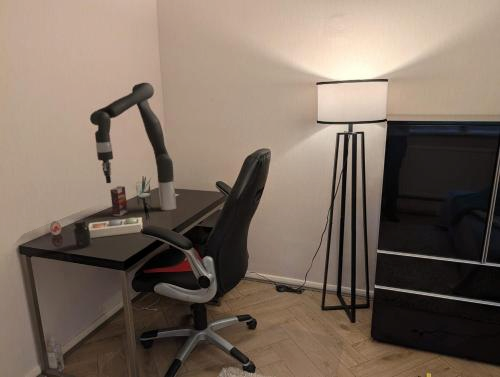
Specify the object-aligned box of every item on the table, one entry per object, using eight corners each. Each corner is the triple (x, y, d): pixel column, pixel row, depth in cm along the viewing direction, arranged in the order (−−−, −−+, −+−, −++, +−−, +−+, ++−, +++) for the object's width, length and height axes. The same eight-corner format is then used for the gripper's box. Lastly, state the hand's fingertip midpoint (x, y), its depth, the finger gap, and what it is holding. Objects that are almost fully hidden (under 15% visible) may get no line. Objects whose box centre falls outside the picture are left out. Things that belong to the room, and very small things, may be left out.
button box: (142, 224, 192) (141, 217, 191) (141, 231, 180) (141, 224, 179) (90, 230, 185) (89, 223, 184) (86, 238, 174) (85, 230, 173)
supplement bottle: (78, 243, 168) (75, 219, 166) (93, 242, 169) (90, 218, 166) (73, 248, 162) (69, 224, 159) (88, 247, 162) (84, 223, 159)
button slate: (121, 223, 185) (120, 218, 185) (120, 227, 180) (119, 222, 179) (110, 224, 184) (109, 220, 183) (108, 228, 179) (108, 223, 178)
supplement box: (120, 216, 207) (117, 189, 203) (113, 215, 208) (109, 189, 204) (128, 211, 215) (125, 186, 212) (121, 211, 216) (117, 186, 213)
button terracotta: (105, 228, 184) (104, 223, 183) (104, 231, 178) (103, 227, 178) (94, 229, 182) (93, 224, 182) (92, 233, 177) (91, 228, 176)
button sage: (137, 221, 187) (136, 217, 187) (137, 225, 182) (136, 220, 181) (126, 223, 186) (125, 218, 185) (125, 226, 181) (124, 221, 180)
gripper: (110, 151, 179) (115, 184, 184) (113, 148, 192) (117, 179, 196) (94, 152, 177) (99, 186, 182) (98, 149, 190) (102, 181, 194)
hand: (108, 182), depth 189 cm, fingers closed
